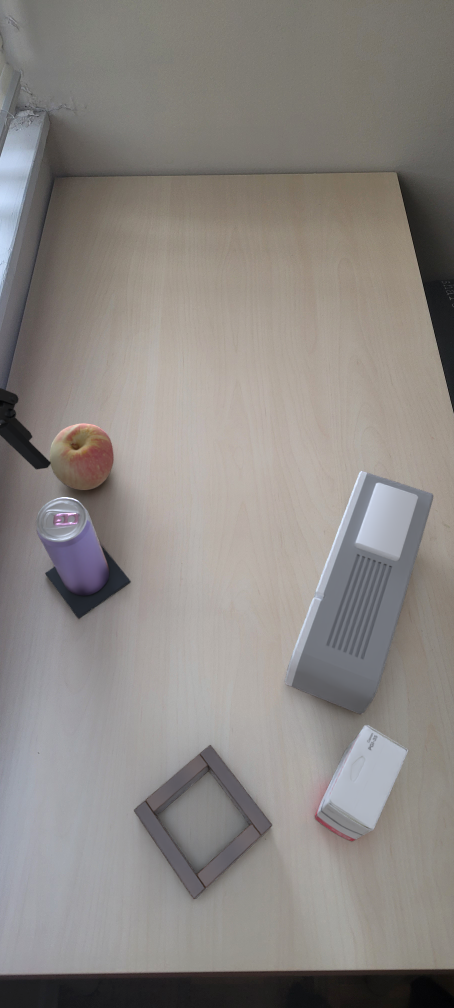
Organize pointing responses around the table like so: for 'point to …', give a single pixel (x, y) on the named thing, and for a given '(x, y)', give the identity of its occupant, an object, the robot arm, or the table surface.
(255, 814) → the holder
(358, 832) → the ink box
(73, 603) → the coaster
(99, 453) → the apple
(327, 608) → the alarm clock
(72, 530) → the beverage can
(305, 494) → the table surface
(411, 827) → the table surface
